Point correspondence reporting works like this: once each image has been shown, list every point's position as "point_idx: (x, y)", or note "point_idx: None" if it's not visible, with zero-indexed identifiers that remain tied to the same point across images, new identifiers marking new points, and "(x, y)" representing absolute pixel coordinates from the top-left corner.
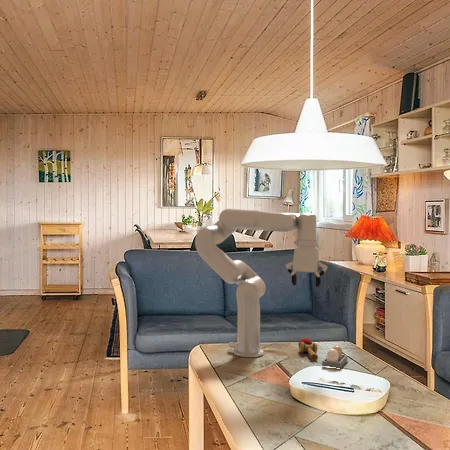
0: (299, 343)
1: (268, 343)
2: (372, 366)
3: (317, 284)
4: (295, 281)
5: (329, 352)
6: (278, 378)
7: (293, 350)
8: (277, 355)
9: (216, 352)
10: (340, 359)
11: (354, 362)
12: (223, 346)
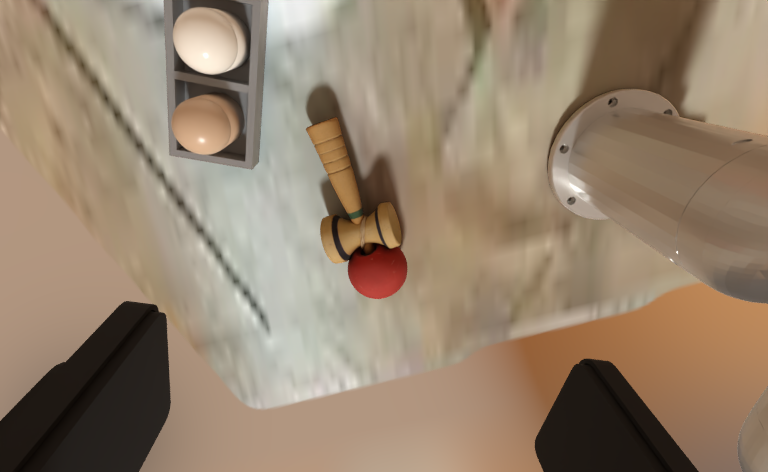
0: (402, 259)
1: (522, 327)
2: (51, 88)
3: (98, 337)
4: (584, 455)
5: (214, 17)
6: None
7: (424, 257)
8: (486, 165)
9: None
10: (184, 72)
11: (147, 137)
12: None
